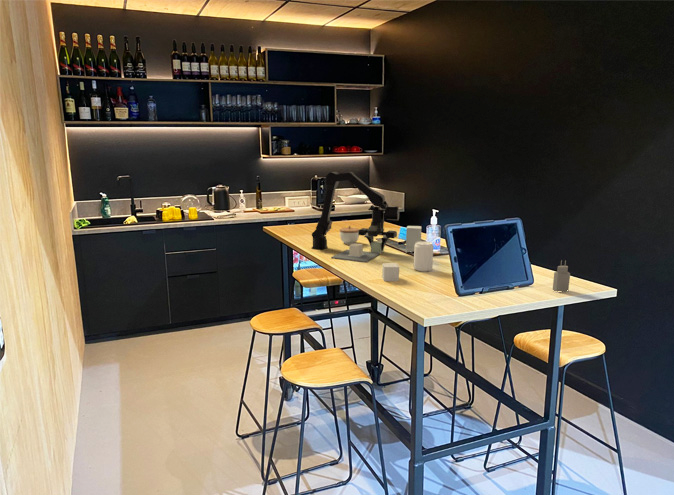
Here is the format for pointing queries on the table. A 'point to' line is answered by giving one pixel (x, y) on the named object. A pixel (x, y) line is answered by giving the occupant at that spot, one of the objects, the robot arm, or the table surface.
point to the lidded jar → (349, 235)
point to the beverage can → (423, 256)
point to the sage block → (376, 247)
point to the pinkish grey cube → (390, 271)
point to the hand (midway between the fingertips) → (377, 249)
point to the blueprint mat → (363, 258)
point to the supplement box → (412, 237)
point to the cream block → (355, 249)
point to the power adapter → (561, 278)
